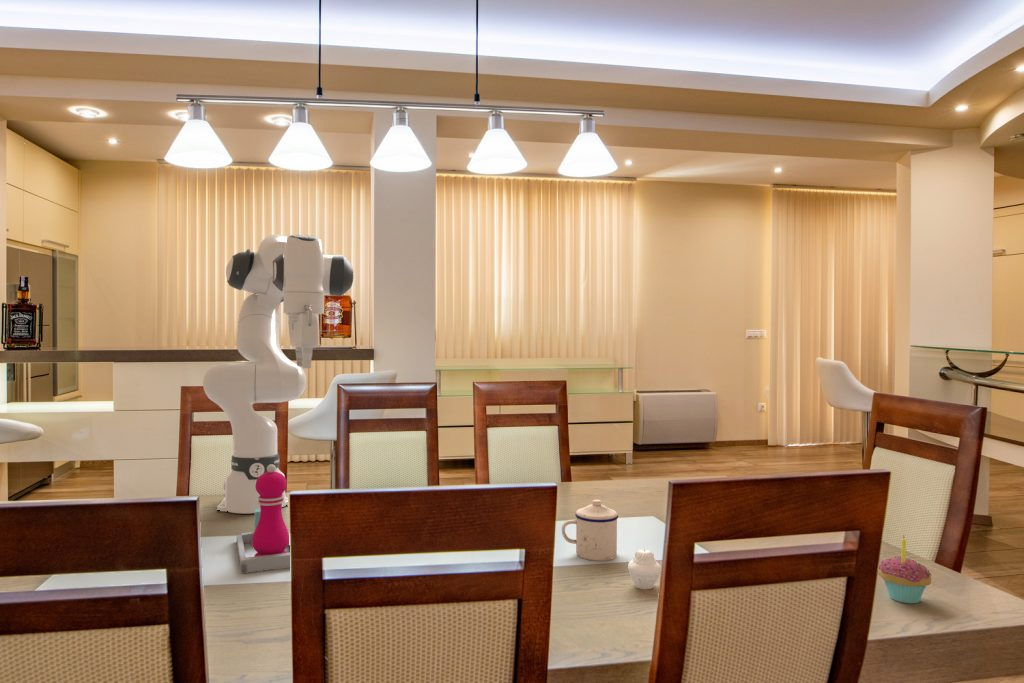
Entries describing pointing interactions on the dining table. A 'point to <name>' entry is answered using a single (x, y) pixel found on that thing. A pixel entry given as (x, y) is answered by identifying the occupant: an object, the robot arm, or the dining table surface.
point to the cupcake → (904, 577)
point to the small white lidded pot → (644, 569)
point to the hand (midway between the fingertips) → (303, 367)
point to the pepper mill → (270, 514)
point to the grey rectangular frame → (259, 561)
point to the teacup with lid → (594, 532)
